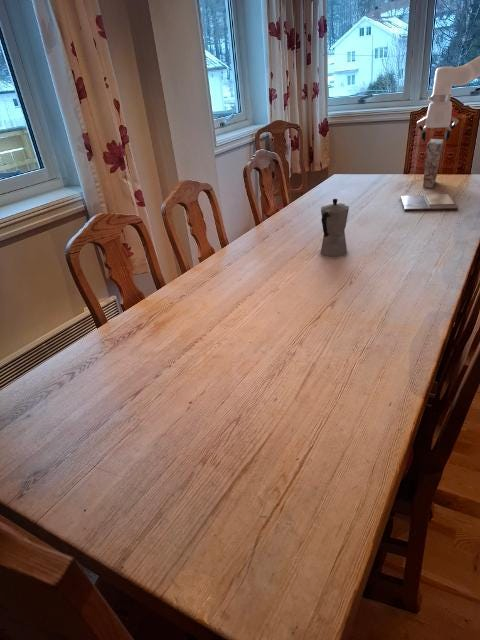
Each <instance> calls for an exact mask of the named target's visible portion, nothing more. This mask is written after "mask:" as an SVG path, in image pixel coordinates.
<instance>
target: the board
mask: <svg viewBox="0 0 480 640" xmlns="http://www.w3.org/2000/svg"><path fill="white" fill-rule="evenodd" d="M400 201H401V205H402V207H403V211H404V212H446V211H447V212H449V211H451V212H453V211H455V212H456V211H459V210H458V209H459V208H458V206H457V205H456V203H455V201H454V200H453V198H452V197H451V195H450V194H449V193H445V194H441V193H440V194H423V195H422V194H420V195H419V194H417V195H414V194H413V195H400Z"/></svg>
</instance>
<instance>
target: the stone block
mask: <svg viewBox="0 0 480 640" xmlns="http://www.w3.org/2000/svg"><path fill="white" fill-rule="evenodd" d="M443 145H444V139H443V138H442V139H441V138H430V140H429V141H428V142H427V143H426V149H425V159H424V171H423V181H422V182H423V183H422V188H429V189H433V188H435V186H436V183H437V182H436V180H437V175H438V170H439V164H440V161H441V155H442V150H443Z"/></svg>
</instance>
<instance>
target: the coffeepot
mask: <svg viewBox="0 0 480 640" xmlns="http://www.w3.org/2000/svg"><path fill="white" fill-rule="evenodd" d="M338 201H339V199H338V198H333V199H332V203H331V204H330V203H329V204H325V205H323V206H321V207H320V215H321V225H322V231H323V236H322V241H321V242H322V243H321V246H320V247H321V248H320V254H322V255H323V256H326V257H340V256H344V255H346V254H347V252H348V247H347V241H346V239H347V238H346V232H345V230H346V228H347V227H346V226H347V221H348V216H349V210H350V206H349V205H346V204H345V203H338Z"/></svg>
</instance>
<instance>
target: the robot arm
mask: <svg viewBox="0 0 480 640" xmlns="http://www.w3.org/2000/svg"><path fill="white" fill-rule="evenodd" d="M479 77H480V55H478V56H477V57H475V58H474V59H472V60H470V61H469V62H467V63H465V64H463V65H459V66H439V67H437V68H436V69H435V73H434V80H433V87H432V94H431V96H428V98H427V100H428V101H430V102H429V103H428V107H427V111H426V115H425V116H424V117H423V118H421V119H420V120H418V121H417V122H416V124H417V127H418V128H419V130H420V131H421V138H420V140H422V142H426V135H427V132H426V131H427V130H428V129H437V128H446V130H445V134H444V140H445V142H446V141H448V140H449V139H450V136H451V132H452V130H453V129H454V128H455V127H456V125H457V124H458V123H459V119H457V118H456V117H454V116H452V111H453V109H452V108H453V103H452V101H451V97H452V96H451V95H452V91H453V90H452V89H453V86H456V87H457V86H458V87H464V86H466V85H468V84H469V83H471V82H473V81H474V80H476V79H478V78H479ZM451 121H452V122H453V123H452V124H451ZM423 123H424V126H422V124H423Z"/></svg>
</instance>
